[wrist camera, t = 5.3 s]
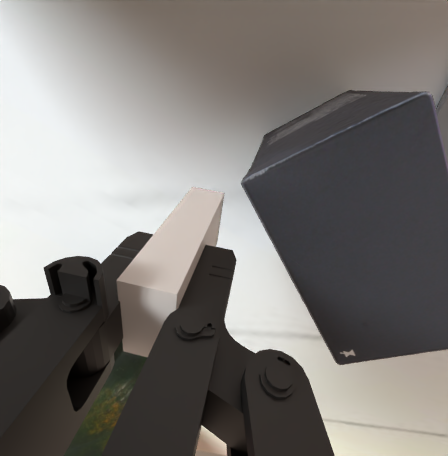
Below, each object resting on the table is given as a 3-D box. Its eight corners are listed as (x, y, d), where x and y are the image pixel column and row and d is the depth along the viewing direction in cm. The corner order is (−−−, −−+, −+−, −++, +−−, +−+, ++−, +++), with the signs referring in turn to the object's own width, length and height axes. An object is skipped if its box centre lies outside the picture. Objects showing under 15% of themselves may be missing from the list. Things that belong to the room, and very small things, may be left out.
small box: (403, 225, 19) (504, 351, 10) (315, 252, 22) (333, 371, 13) (357, 83, 16) (448, 80, 7) (259, 136, 18) (230, 185, 9)
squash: (194, 427, 30) (100, 555, 15) (86, 409, 33) (-67, 498, 19) (198, 299, 33) (124, 308, 19) (99, 296, 37) (-24, 301, 23)
